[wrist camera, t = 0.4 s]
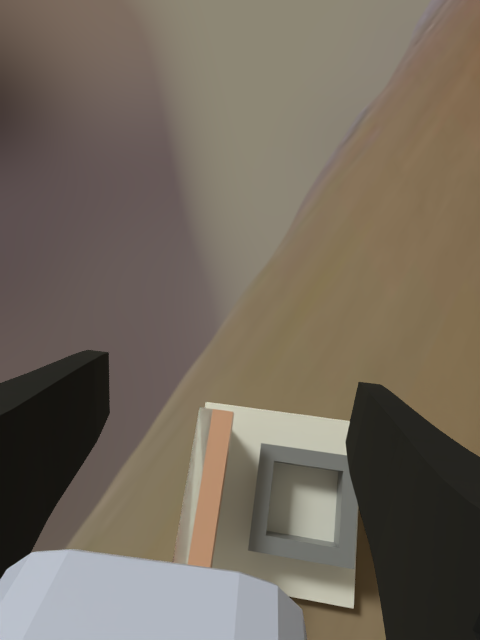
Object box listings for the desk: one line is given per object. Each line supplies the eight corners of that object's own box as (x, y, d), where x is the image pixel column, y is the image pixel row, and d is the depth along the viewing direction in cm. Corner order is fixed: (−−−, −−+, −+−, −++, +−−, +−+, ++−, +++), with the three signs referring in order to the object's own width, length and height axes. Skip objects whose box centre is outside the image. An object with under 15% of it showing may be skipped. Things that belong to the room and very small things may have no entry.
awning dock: (351, 604, 33) (374, 644, 25) (179, 572, 35) (150, 600, 27) (360, 424, 38) (382, 410, 30) (207, 403, 40) (190, 385, 32)
